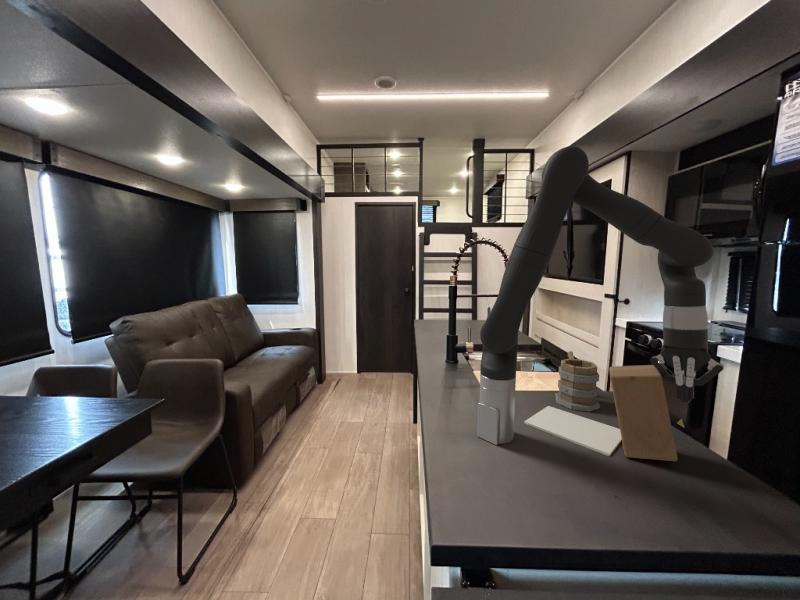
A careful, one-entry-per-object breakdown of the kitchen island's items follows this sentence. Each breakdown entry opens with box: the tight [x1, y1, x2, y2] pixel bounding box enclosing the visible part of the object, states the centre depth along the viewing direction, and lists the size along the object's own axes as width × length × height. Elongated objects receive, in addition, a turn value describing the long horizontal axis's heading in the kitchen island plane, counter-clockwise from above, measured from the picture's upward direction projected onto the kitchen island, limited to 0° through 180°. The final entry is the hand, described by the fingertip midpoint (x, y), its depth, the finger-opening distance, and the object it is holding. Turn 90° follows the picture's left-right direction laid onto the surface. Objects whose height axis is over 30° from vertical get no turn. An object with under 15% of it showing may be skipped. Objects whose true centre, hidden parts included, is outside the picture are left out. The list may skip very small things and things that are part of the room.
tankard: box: [554, 350, 601, 412], centre depth 112 cm, size 20×13×15 cm, turn 161°
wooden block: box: [608, 364, 678, 462], centre depth 80 cm, size 10×10×20 cm
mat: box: [523, 405, 622, 457], centre depth 92 cm, size 16×22×1 cm
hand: (685, 401), depth 73 cm, fingers closed
